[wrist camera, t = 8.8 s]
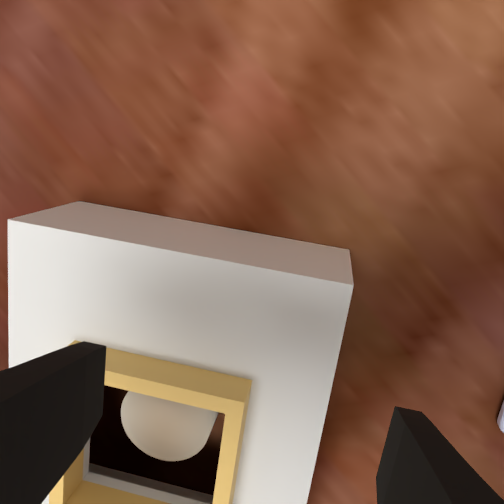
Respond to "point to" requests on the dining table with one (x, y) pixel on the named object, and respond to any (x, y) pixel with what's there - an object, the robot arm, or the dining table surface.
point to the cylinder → (166, 426)
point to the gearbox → (188, 337)
